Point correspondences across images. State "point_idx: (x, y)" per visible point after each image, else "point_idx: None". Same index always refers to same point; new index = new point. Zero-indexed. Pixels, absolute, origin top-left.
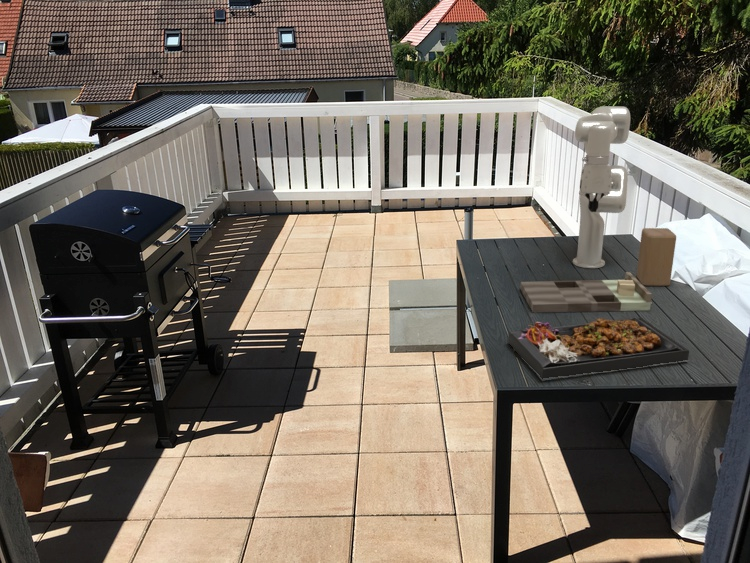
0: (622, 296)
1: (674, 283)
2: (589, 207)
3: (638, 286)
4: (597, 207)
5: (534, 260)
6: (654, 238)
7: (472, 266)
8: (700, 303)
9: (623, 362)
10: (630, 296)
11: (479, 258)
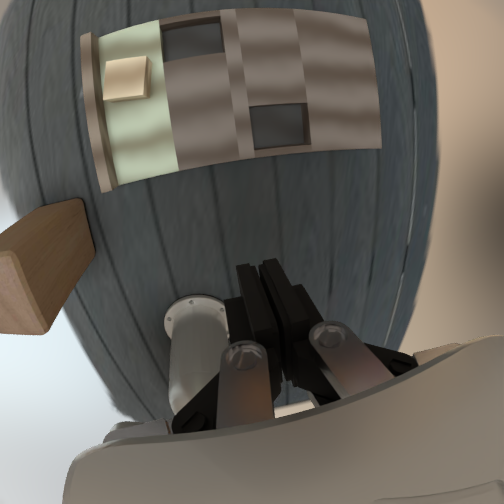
0: None
1: None
2: (305, 292)
3: (95, 87)
4: (228, 304)
5: None
6: (3, 250)
7: (417, 268)
8: (4, 123)
9: None
10: None
11: (396, 308)
